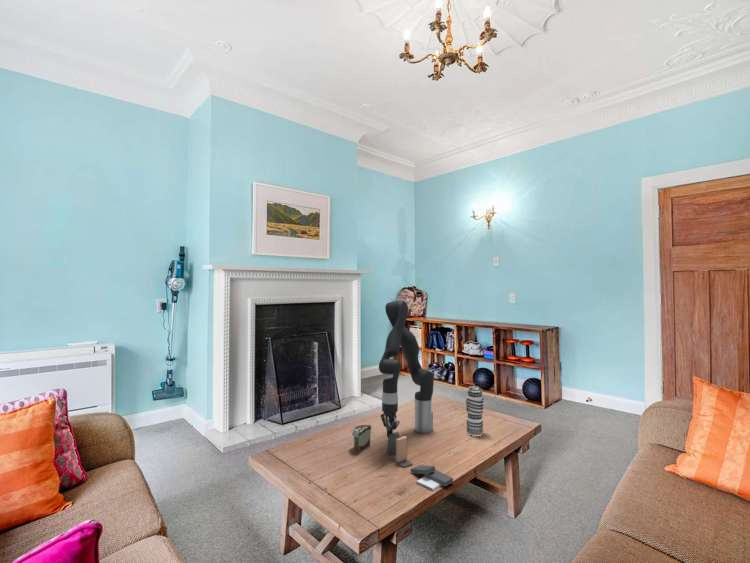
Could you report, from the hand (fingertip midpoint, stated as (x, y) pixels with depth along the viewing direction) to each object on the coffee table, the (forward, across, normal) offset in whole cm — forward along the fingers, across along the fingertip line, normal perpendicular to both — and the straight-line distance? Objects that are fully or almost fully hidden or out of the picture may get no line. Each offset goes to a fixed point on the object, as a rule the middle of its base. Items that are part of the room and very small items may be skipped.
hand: (389, 437), depth 176 cm
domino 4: (+6, +20, -1) cm, 21 cm away
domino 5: (+5, +27, +1) cm, 28 cm away
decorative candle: (+7, +7, +51) cm, 52 cm away
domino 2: (+6, +11, -1) cm, 12 cm away
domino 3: (+7, +6, -1) cm, 9 cm away
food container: (+7, -11, -10) cm, 17 cm away
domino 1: (+7, +1, 0) cm, 7 cm away
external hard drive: (+8, +31, 0) cm, 32 cm away
